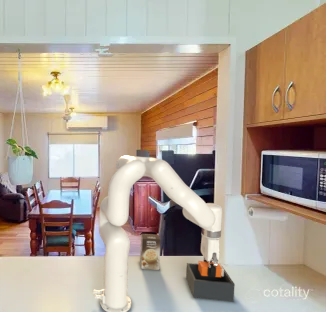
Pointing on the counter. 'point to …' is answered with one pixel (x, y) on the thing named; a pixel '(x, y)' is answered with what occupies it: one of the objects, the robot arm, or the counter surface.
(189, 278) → the trash bin
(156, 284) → the counter surface
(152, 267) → the coffee box
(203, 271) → the block
